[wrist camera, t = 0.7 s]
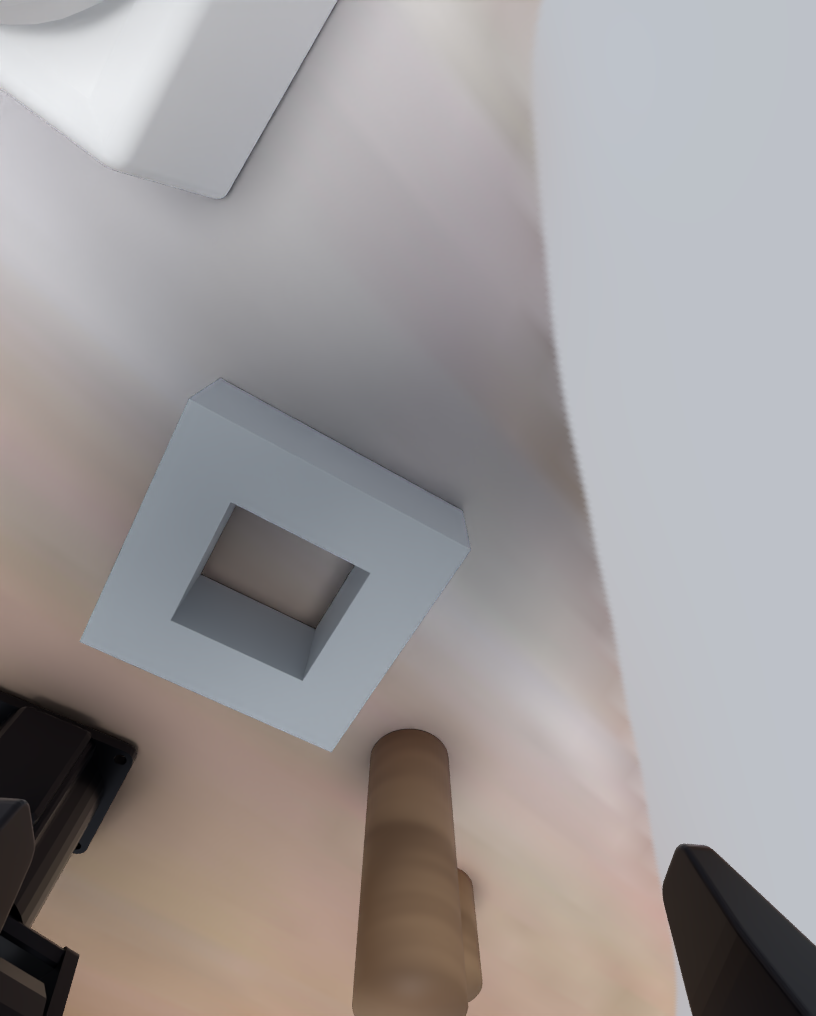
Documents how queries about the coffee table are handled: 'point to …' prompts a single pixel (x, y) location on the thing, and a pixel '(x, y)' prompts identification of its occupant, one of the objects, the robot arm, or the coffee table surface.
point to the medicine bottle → (158, 78)
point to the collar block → (245, 622)
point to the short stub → (469, 936)
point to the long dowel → (409, 885)
